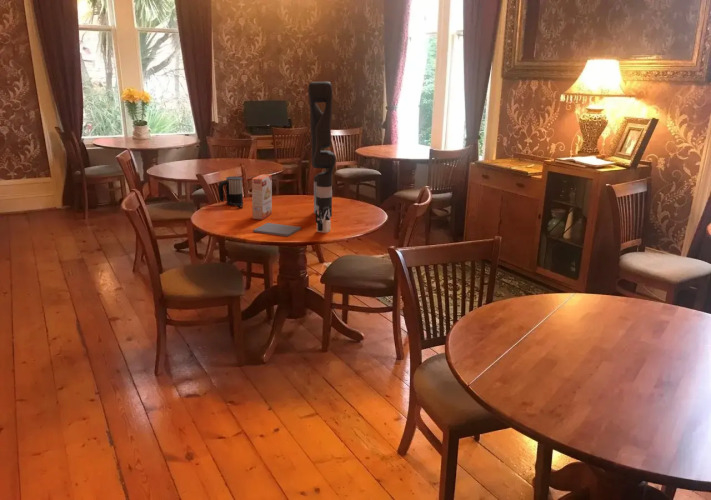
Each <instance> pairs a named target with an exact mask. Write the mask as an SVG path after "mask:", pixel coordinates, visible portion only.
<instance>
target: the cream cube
mask: <svg viewBox="0 0 711 500" xmlns="http://www.w3.org/2000/svg"><path fill="white" fill-rule="evenodd" d="M321 220H322V219H321ZM331 223H332V222H331V219H330V220H325V219H324V220H323V230H322V231H318V223H316V232H317V233H324V234H326V233H328V232H331V227H332V225H331Z"/></svg>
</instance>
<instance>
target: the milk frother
mask: <svg viewBox="0 0 711 500" xmlns="http://www.w3.org/2000/svg"><path fill="white" fill-rule="evenodd" d="M224 186H225V192H226V193H225V194H226V195H224ZM217 189H218V198H219V201H221V202H223V201H224V200H226V204H227V205H228V206H235V207H237V208H239V209H240V208H243V207H244V202H243V177H242V176H236V175H235V176H226V177H225V180H222V181H220V182H219V183H218V185H217ZM224 196H225V197H226V199H225V197H224Z"/></svg>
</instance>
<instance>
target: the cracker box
mask: <svg viewBox="0 0 711 500" xmlns="http://www.w3.org/2000/svg"><path fill="white" fill-rule="evenodd" d="M272 180H273V179H272V174H264V173H263V174H260V175H257V176H255V177H253V178H251V198H252V200H251V202H252V203H251V204H252V205H251V207H252V208H251V210H252V219H253V220H261V221H262V220H264V219H266V218H267V217H269V216H270V215H272V214H273V212H272V210H273V204H272V203H273V200H272V199H273V198H272V197H273V196H272V195H273V192H272V190H273V189H272V188H273V187H272V186H273V185H272V184H273V182H272Z"/></svg>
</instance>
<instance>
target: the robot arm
mask: <svg viewBox="0 0 711 500" xmlns="http://www.w3.org/2000/svg"><path fill="white" fill-rule="evenodd" d="M307 93H308V103H309V114H310V117H309V121H310V122H309V124H310V125H309V126H310V129H309V130H310V138H311V139H310V140H311V141H310V142H311V153H310V154H311V156H310V157H311V160H310V162H311V166H312V168H314V169H325V170H324V171H322V172H318V173H317V174H316V175H314V177H313V214H314V215H315V218H314V219H315V220H314V222H315V223H316V224H317V223H318V231H322V230H323V220H331V217H332V216H333V210H332V209H333V208H332V207H333V206H332V205H333V188H332V187H333V185H332V183H333V179H332V178H333V173H334V169H335V166H336V163H337V157H336V155H335V153H334V152H333V151H331V150H324V149H326V148H327V149H328V148H330V147H331V146H332V130H331V129H332V127H331V126H332V114H333V113H332V112H333V85H332V82H330V81H311V82H310V83H309V84H308V87H307ZM318 103H325V107H324V110H323V111H322V110H321V109H320V107H319V105H318ZM321 219H322V220H321Z"/></svg>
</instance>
